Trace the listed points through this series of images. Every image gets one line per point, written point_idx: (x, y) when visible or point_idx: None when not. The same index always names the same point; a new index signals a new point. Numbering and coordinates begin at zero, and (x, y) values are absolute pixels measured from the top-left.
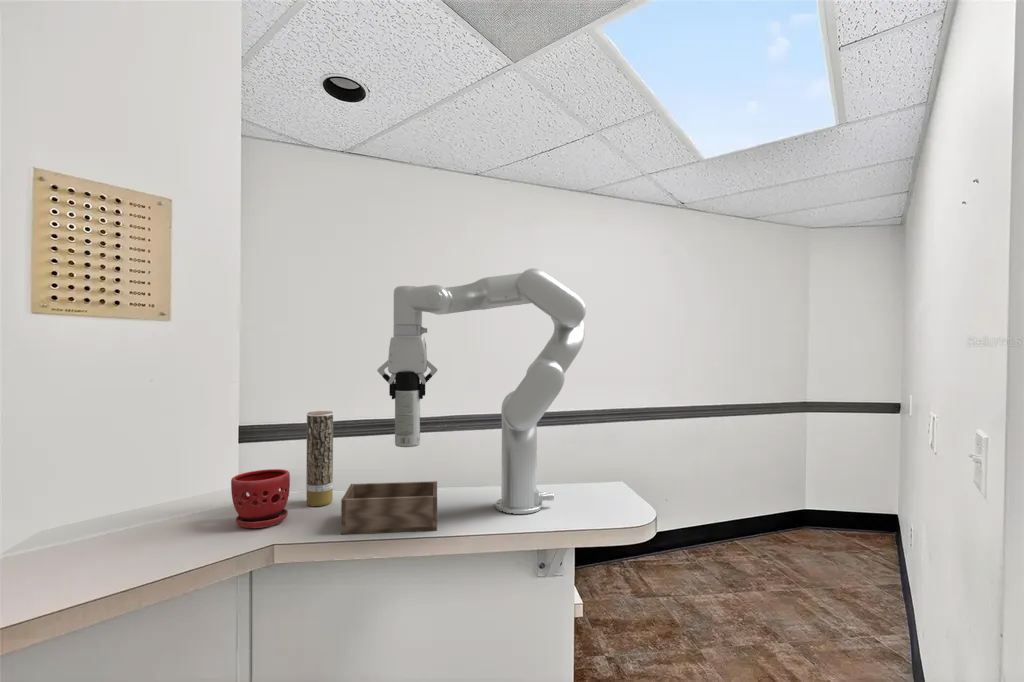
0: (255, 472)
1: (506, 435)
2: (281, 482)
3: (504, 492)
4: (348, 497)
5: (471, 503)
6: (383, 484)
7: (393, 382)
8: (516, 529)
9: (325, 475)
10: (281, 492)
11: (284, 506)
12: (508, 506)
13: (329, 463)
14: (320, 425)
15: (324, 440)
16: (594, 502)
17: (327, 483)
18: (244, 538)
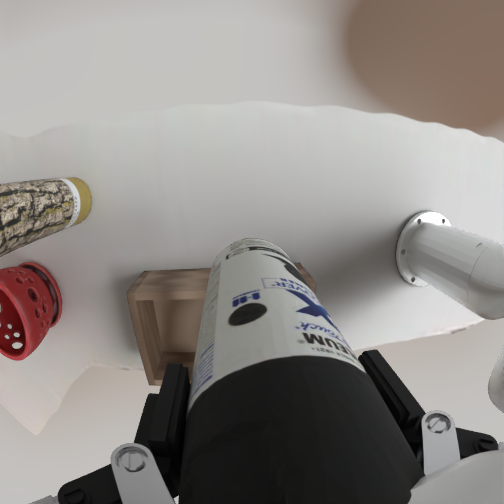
0: None
1: (492, 311)
2: (35, 341)
3: (420, 271)
4: (150, 361)
5: (362, 218)
6: (196, 298)
7: (174, 491)
8: (396, 338)
9: (58, 228)
10: (43, 333)
11: (51, 305)
12: (412, 272)
13: (49, 224)
14: None
15: (8, 250)
16: (497, 234)
17: (69, 221)
18: (53, 345)
